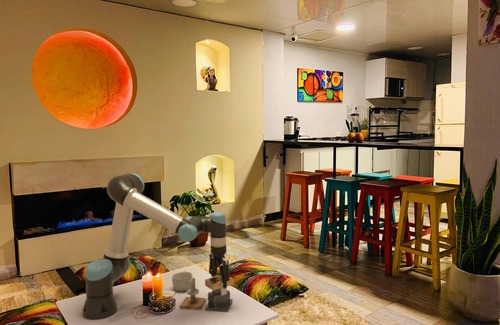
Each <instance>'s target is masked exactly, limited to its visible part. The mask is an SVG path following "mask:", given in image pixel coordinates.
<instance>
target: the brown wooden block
mask: <svg viewBox="0 0 500 325" xmlns="http://www.w3.org/2000/svg"><path fill="white" fill-rule="evenodd" d="M215 276H216V275H215ZM229 277H230V281H227V287H230V286H233V285H234V278H233V277H231V276H229ZM218 278H221V274H220V275H217V276H216V277H213V278H212V277H210V278H206V279H204V286H205V287H206V288H208V289H210V290H213V291H214V290H217V289H220V288H221V281H222V280H220V281H217V282H214V279H218Z"/></svg>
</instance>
